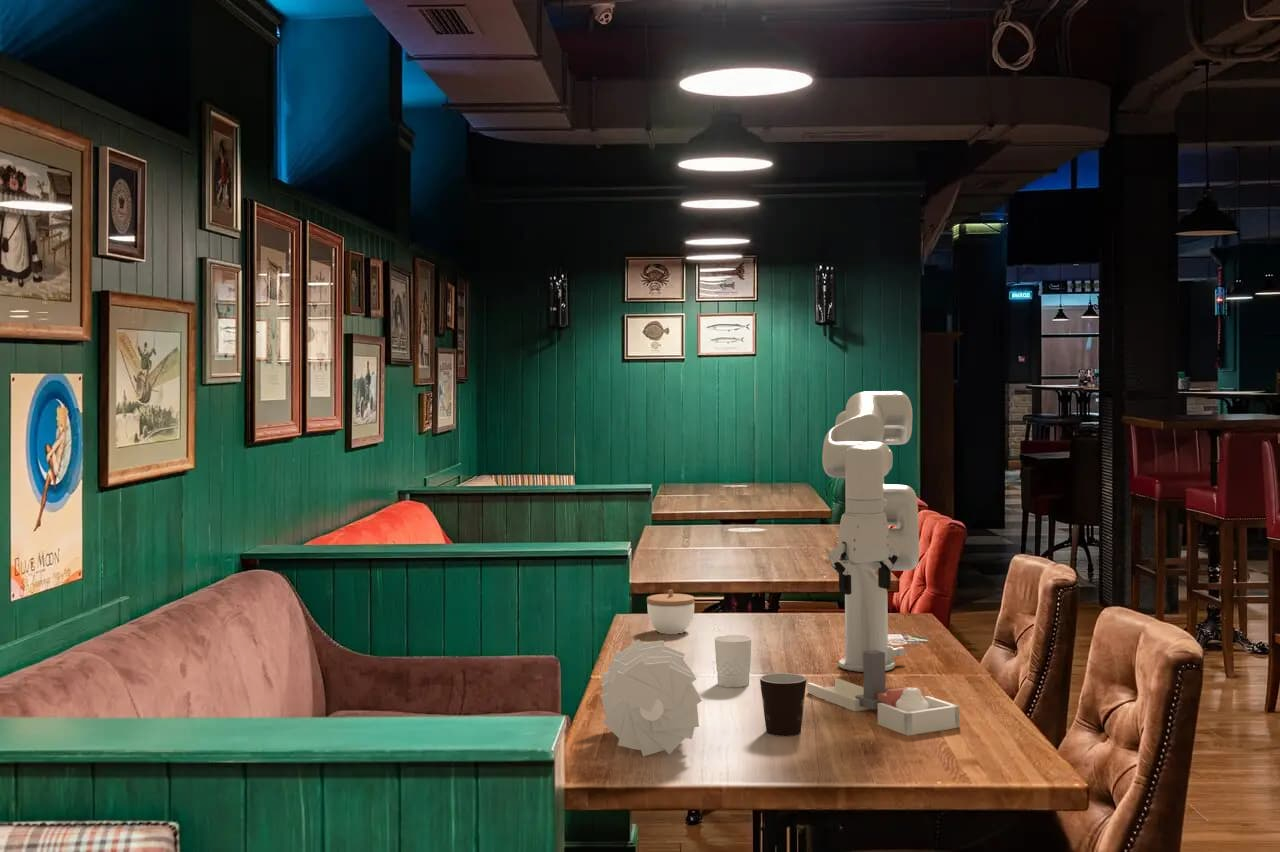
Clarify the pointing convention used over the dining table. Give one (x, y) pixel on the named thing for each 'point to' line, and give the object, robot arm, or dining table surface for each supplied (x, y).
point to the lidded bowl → (670, 612)
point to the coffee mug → (783, 702)
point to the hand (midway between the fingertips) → (865, 590)
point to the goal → (920, 717)
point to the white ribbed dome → (912, 700)
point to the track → (840, 694)
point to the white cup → (733, 660)
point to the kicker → (876, 682)
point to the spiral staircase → (650, 697)
